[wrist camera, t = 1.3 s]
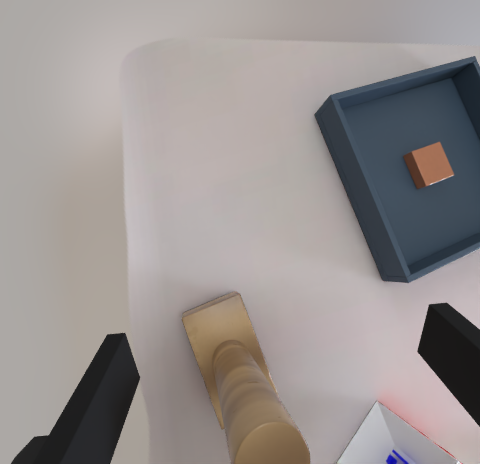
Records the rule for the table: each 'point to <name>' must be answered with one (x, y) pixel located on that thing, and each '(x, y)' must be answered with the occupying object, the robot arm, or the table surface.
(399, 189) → the tray
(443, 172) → the block
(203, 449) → the table surface
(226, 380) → the wooden stamp
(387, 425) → the red and white box
